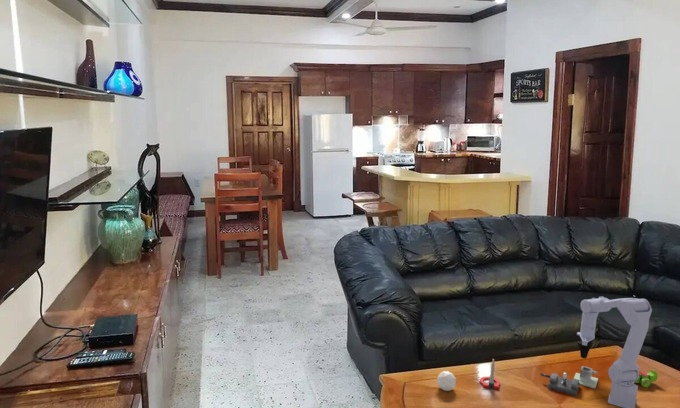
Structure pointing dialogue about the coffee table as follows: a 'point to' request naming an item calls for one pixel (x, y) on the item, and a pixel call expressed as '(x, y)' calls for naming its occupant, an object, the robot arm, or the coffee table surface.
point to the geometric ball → (446, 380)
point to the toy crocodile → (646, 378)
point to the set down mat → (591, 384)
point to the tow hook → (492, 380)
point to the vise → (563, 383)
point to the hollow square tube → (586, 374)
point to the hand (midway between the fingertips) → (584, 354)
